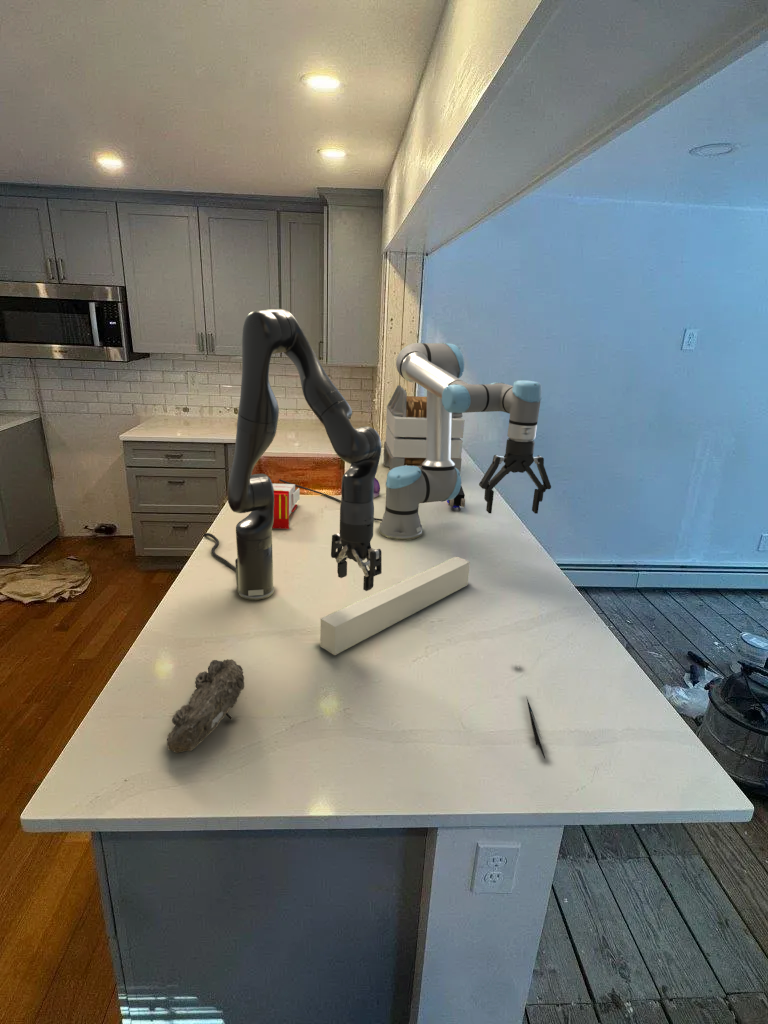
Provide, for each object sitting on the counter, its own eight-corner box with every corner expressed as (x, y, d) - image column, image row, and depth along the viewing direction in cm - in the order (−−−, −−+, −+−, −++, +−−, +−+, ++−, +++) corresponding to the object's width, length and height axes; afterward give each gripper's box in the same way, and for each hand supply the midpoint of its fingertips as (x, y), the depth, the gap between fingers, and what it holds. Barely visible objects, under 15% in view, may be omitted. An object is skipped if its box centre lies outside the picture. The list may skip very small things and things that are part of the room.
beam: (453, 579, 168) (456, 556, 165) (467, 585, 165) (470, 561, 162) (320, 646, 132) (320, 618, 129) (334, 655, 129) (335, 626, 126)
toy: (301, 479, 224) (291, 492, 194) (301, 512, 226) (291, 530, 197) (270, 478, 223) (256, 491, 194) (271, 511, 226) (256, 529, 197)
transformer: (382, 463, 289) (386, 382, 275) (445, 464, 293) (451, 384, 279) (390, 482, 257) (394, 392, 243) (460, 483, 261) (468, 394, 247)
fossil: (192, 660, 117) (244, 628, 112) (224, 691, 120) (276, 661, 115) (142, 746, 98) (202, 712, 93) (182, 779, 101) (242, 748, 96)
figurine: (365, 500, 232) (366, 464, 227) (354, 493, 241) (355, 458, 236) (385, 497, 237) (387, 463, 231) (374, 490, 245) (375, 457, 240)
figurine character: (465, 515, 224) (460, 499, 237) (467, 498, 221) (462, 483, 234) (448, 515, 224) (444, 499, 237) (450, 498, 220) (445, 482, 234)
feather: (518, 672, 127) (523, 666, 127) (544, 763, 101) (551, 755, 100) (512, 668, 127) (517, 662, 127) (537, 758, 101) (544, 751, 100)
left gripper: (322, 512, 128) (322, 577, 133) (367, 530, 118) (364, 599, 124) (347, 505, 133) (346, 568, 138) (391, 522, 124) (388, 589, 129)
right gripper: (480, 441, 150) (472, 516, 157) (570, 442, 153) (558, 516, 160) (473, 435, 157) (466, 507, 164) (559, 436, 160) (548, 507, 167)
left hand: (354, 583), depth 131 cm, fingers open, 8 cm apart
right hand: (511, 512), depth 162 cm, fingers open, 13 cm apart
